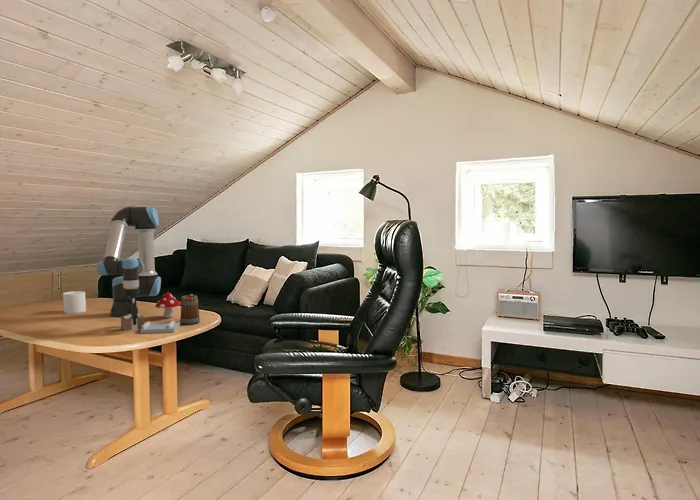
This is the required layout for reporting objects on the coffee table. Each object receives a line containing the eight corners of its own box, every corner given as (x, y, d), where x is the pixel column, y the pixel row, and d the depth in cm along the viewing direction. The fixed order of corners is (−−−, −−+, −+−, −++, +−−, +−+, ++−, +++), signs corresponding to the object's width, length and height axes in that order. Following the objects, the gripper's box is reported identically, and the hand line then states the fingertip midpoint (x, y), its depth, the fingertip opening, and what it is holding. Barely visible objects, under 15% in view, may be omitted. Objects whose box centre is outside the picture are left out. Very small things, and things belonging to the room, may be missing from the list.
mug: (198, 324, 250) (197, 297, 249) (178, 325, 249) (177, 298, 248) (202, 318, 266) (202, 292, 265) (183, 319, 264) (183, 293, 263)
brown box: (121, 328, 243) (120, 315, 242) (141, 326, 248) (141, 313, 248) (123, 331, 237) (123, 318, 236) (144, 328, 243) (144, 315, 242)
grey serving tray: (149, 326, 247) (149, 320, 247) (180, 325, 249) (180, 319, 249) (140, 333, 232) (140, 326, 232) (173, 332, 235) (173, 325, 234)
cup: (83, 308, 293) (82, 290, 292) (88, 311, 284) (87, 292, 283) (62, 311, 285) (61, 292, 284) (66, 314, 276) (65, 295, 275)
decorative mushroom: (178, 313, 278) (177, 289, 276) (184, 318, 266) (183, 292, 265) (153, 316, 270) (152, 291, 269) (158, 321, 258) (157, 295, 257)
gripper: (120, 285, 249) (122, 324, 251) (126, 291, 229) (128, 334, 230) (135, 284, 253) (137, 322, 255) (142, 290, 233) (144, 332, 234)
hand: (132, 328), depth 243 cm, fingers open, 12 cm apart
